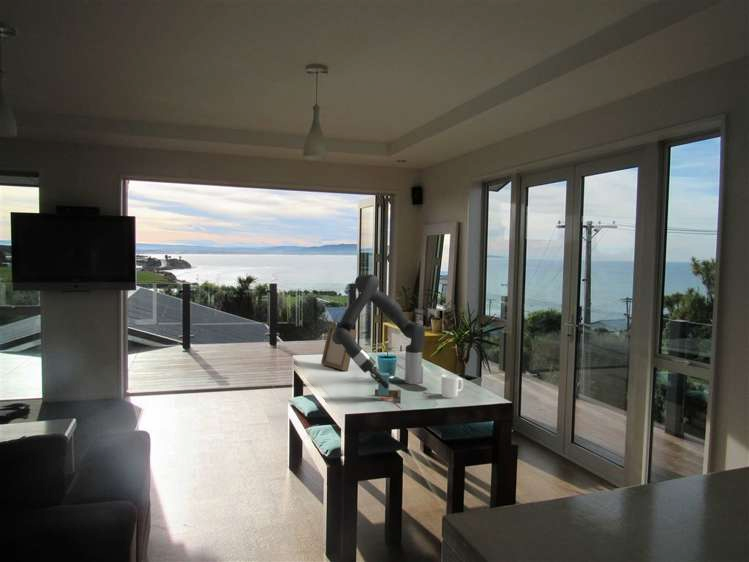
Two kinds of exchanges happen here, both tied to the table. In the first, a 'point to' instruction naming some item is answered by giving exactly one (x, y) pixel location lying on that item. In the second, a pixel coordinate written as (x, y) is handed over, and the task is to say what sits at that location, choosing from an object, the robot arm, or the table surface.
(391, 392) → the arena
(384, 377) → the teal block
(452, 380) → the cup
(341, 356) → the photo frame
